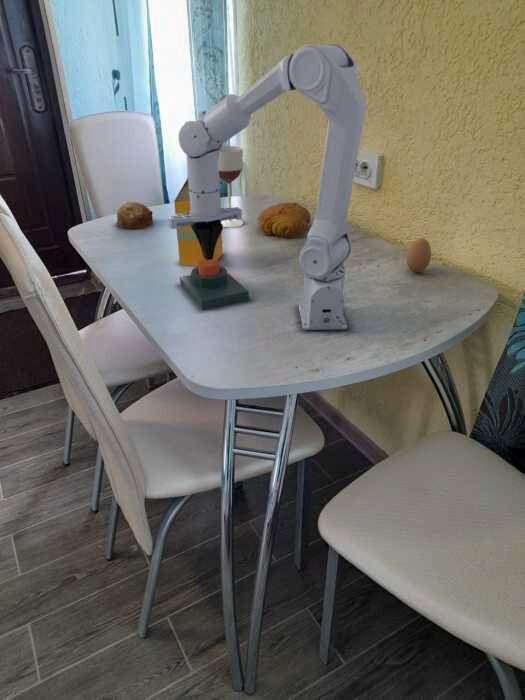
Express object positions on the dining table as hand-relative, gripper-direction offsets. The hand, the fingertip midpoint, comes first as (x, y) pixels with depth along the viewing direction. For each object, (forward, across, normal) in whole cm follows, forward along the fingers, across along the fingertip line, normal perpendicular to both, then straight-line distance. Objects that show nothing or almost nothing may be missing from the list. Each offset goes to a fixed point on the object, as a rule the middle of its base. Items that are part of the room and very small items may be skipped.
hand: (208, 258), depth 102 cm
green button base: (+7, 0, +2) cm, 7 cm away
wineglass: (+7, -22, -40) cm, 46 cm away
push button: (+3, 0, 0) cm, 3 cm away
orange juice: (+7, -4, -17) cm, 19 cm away
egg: (+7, -45, +12) cm, 47 cm away
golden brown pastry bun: (+7, -33, -28) cm, 44 cm away
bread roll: (+7, +3, -51) cm, 52 cm away
